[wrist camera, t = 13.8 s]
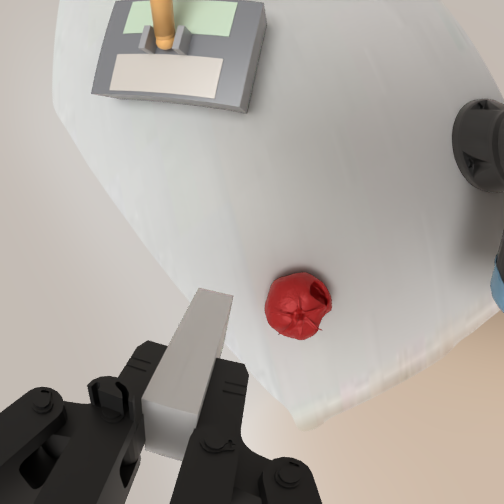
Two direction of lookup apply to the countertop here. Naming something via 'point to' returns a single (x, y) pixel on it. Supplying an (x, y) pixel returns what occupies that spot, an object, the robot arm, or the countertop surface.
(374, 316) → the countertop surface
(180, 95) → the box
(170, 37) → the lever
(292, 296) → the pomegranate
